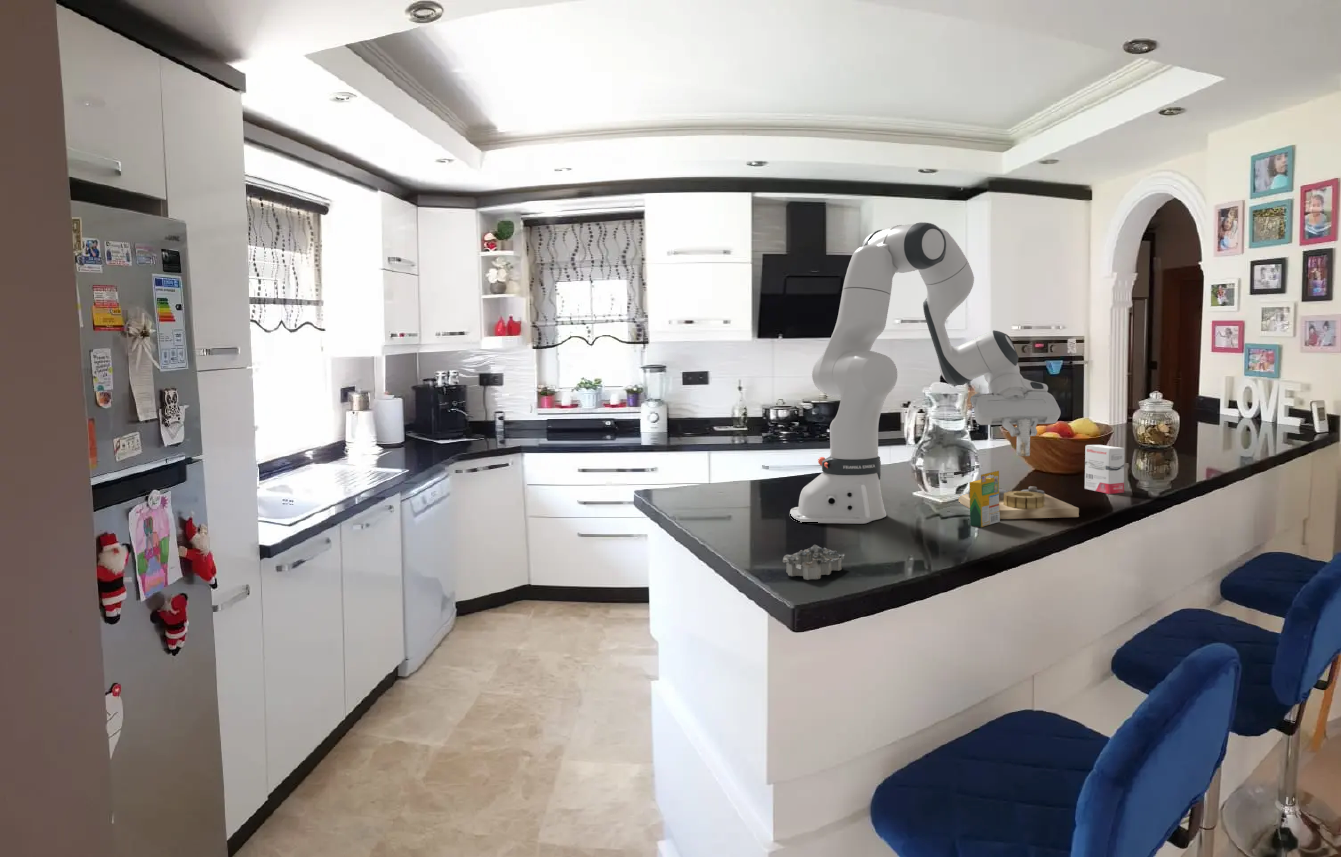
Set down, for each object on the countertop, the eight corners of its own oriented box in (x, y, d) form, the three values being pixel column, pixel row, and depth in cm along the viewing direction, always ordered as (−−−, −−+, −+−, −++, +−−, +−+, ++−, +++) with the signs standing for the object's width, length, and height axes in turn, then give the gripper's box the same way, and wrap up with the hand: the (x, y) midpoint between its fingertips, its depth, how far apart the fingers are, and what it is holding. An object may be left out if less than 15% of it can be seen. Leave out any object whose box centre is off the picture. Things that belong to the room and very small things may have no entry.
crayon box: (987, 520, 169) (987, 469, 168) (1000, 522, 166) (1000, 470, 165) (969, 525, 164) (968, 473, 163) (981, 527, 162) (981, 474, 161)
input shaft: (1019, 456, 185) (1019, 420, 185) (1014, 454, 188) (1014, 419, 188) (1031, 456, 185) (1032, 419, 184) (1026, 454, 188) (1027, 418, 187)
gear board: (987, 519, 169) (987, 499, 169) (958, 502, 189) (958, 484, 189) (1078, 516, 168) (1078, 497, 167) (1040, 499, 188) (1040, 481, 187)
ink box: (1125, 492, 192) (1126, 447, 191) (1108, 494, 191) (1109, 448, 190) (1099, 487, 200) (1099, 443, 199) (1083, 489, 199) (1083, 444, 198)
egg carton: (812, 583, 129) (811, 560, 129) (778, 575, 135) (778, 552, 134) (849, 569, 136) (848, 547, 136) (815, 562, 142) (815, 541, 141)
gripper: (971, 386, 193) (985, 427, 184) (1053, 384, 192) (1070, 425, 183) (965, 402, 197) (978, 443, 189) (1045, 400, 196) (1061, 441, 188)
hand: (1024, 434), depth 186 cm, fingers closed on input shaft, 3 cm apart
